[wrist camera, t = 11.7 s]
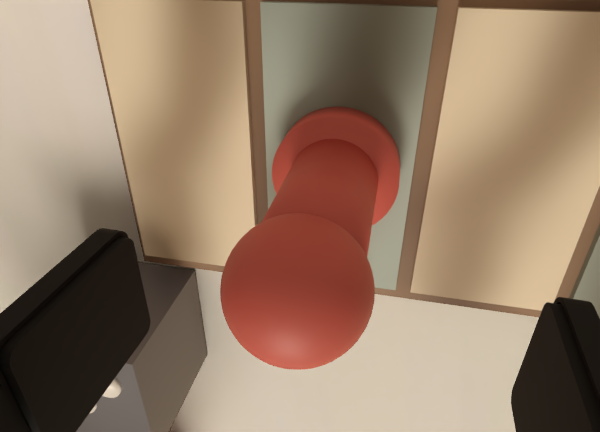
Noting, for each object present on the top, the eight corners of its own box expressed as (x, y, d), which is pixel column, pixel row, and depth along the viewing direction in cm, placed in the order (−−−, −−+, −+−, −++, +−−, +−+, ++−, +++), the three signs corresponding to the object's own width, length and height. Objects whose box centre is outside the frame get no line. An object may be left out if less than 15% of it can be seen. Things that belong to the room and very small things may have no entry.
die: (194, 270, 23) (130, 367, 17) (207, 353, 26) (155, 457, 21) (87, 254, 24) (-4, 342, 19) (111, 336, 27) (39, 431, 22)
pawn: (407, 111, 15) (402, 276, 8) (392, 223, 17) (377, 432, 10) (279, 102, 16) (161, 244, 8) (281, 210, 18) (190, 395, 11)
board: (1231, -3, 11) (1322, 3, 10) (888, 349, 17) (920, 377, 16) (99, -26, 16) (76, -24, 15) (154, 248, 22) (141, 264, 21)
